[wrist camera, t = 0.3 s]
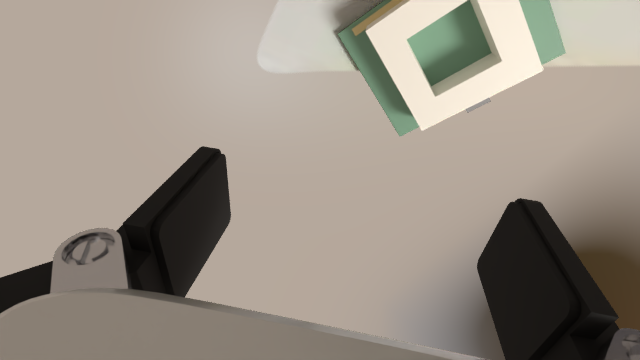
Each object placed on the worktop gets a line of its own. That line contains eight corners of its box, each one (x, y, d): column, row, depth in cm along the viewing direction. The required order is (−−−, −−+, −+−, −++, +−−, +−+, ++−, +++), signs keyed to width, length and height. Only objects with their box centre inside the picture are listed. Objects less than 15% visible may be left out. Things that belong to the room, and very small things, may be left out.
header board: (516, -96, 27) (535, -104, 24) (563, 51, 32) (583, 61, 29) (338, 33, 35) (333, 40, 31) (399, 134, 40) (401, 150, 37)
